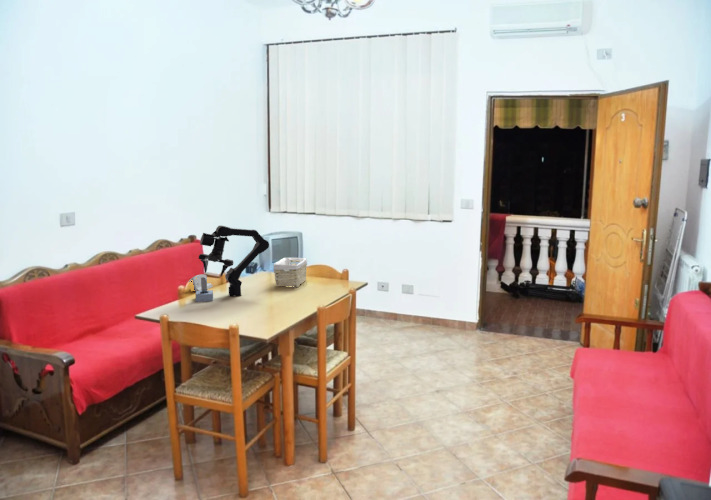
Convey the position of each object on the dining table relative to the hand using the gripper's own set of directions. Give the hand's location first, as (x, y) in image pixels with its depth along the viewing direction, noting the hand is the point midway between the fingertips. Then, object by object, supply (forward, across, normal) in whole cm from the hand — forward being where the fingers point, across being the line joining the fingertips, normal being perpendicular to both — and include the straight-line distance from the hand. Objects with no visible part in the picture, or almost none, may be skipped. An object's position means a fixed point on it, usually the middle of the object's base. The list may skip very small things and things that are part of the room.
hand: (213, 274), depth 313 cm
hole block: (+14, -1, -4) cm, 15 cm away
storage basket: (+2, +38, +40) cm, 55 cm away
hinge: (+14, -12, +20) cm, 28 cm away
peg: (+14, -1, -4) cm, 15 cm away
